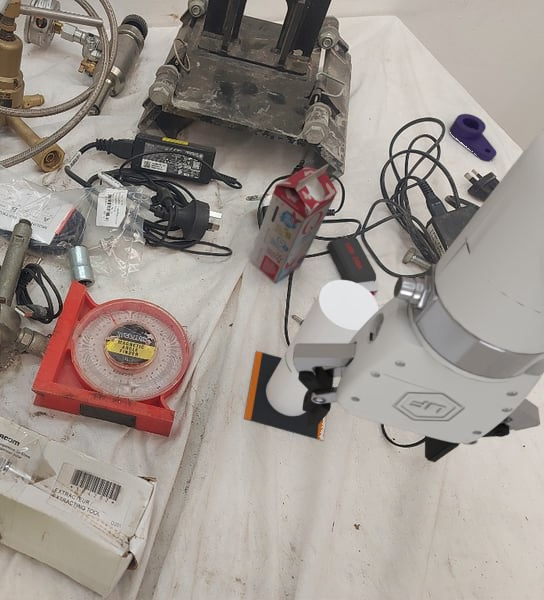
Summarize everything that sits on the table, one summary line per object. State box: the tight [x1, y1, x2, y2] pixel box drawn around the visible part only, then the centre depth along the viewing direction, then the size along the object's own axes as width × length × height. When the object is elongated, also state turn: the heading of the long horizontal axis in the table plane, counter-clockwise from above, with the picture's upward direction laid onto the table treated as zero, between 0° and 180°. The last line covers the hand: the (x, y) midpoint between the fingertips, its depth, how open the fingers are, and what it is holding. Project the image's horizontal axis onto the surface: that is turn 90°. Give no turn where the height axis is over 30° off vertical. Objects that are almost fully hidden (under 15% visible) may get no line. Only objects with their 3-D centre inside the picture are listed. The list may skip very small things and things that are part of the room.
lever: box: [449, 113, 497, 162], centre depth 126 cm, size 12×6×3 cm, turn 22°
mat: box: [243, 350, 323, 440], centre depth 89 cm, size 12×12×1 cm
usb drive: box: [326, 236, 380, 297], centre depth 103 cm, size 5×12×3 cm, turn 12°
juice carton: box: [248, 163, 338, 285], centre depth 94 cm, size 7×7×22 cm
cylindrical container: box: [266, 279, 380, 416], centre depth 79 cm, size 7×7×25 cm
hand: (369, 427), depth 48 cm, fingers open, 9 cm apart
